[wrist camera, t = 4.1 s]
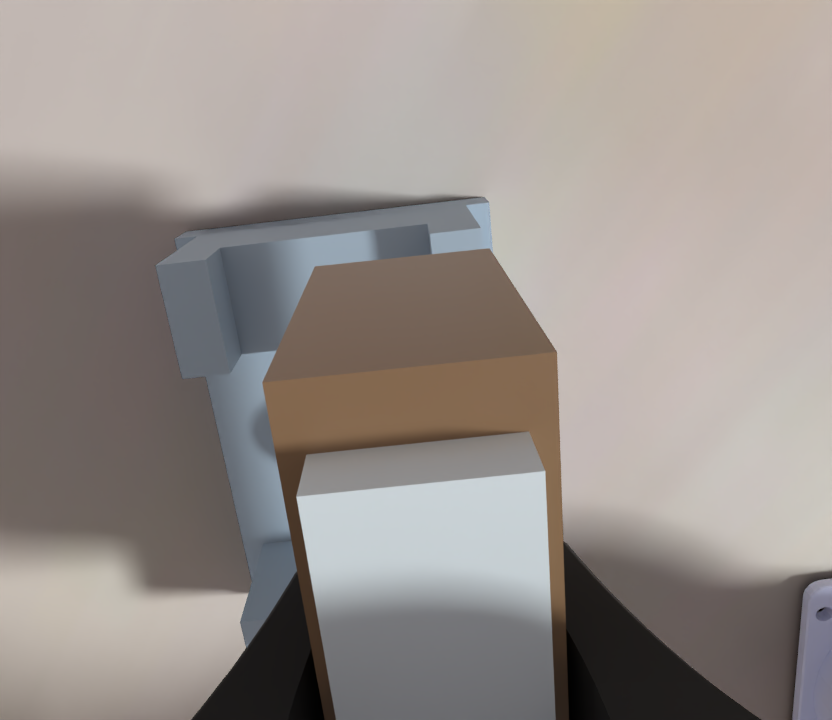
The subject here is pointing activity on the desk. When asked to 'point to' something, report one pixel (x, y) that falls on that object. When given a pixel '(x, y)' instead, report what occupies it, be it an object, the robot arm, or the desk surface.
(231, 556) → the desk surface
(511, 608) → the tan brown bar
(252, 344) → the display stand
